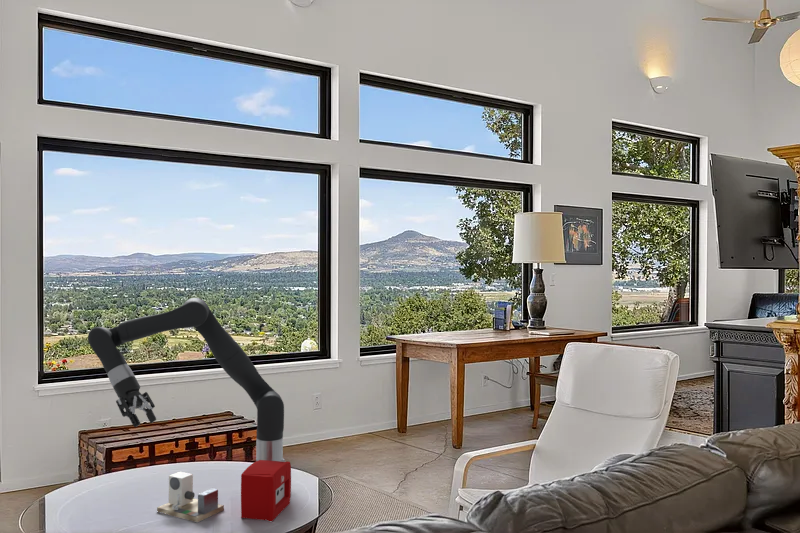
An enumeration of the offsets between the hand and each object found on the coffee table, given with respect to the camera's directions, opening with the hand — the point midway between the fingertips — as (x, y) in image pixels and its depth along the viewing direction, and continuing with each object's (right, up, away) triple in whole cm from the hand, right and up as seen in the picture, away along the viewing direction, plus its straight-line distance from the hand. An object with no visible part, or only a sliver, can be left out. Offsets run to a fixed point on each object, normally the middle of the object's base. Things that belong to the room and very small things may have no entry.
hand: (145, 423), depth 245 cm
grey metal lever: (+13, -25, -9) cm, 30 cm away
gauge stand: (+16, -27, -5) cm, 32 cm away
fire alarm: (+40, -28, -4) cm, 49 cm away
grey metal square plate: (+23, -26, -9) cm, 35 cm away
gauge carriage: (+13, -25, -5) cm, 28 cm away
